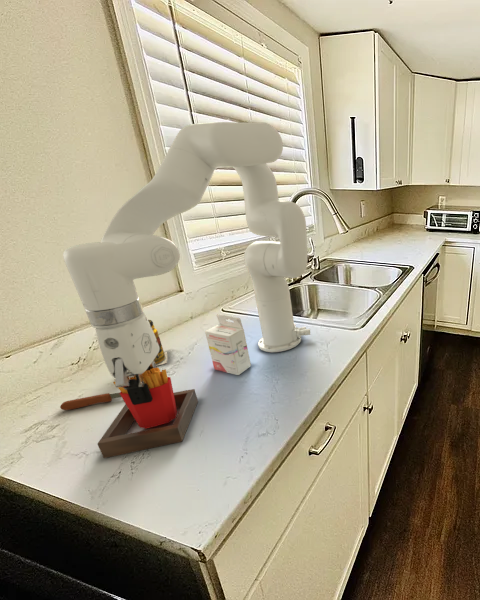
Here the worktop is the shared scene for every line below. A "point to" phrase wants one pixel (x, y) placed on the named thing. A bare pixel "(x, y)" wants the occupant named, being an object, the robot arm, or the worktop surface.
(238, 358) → the ink cartridge box
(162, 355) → the condiment
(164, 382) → the french fries
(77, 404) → the kitchen knife
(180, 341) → the worktop surface
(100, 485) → the worktop surface
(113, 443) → the holder
